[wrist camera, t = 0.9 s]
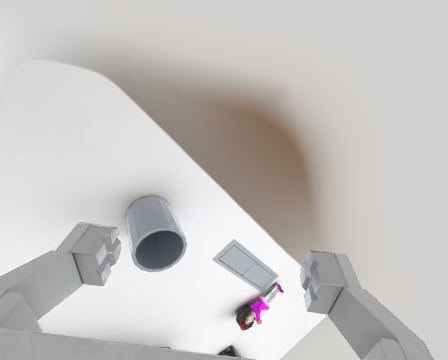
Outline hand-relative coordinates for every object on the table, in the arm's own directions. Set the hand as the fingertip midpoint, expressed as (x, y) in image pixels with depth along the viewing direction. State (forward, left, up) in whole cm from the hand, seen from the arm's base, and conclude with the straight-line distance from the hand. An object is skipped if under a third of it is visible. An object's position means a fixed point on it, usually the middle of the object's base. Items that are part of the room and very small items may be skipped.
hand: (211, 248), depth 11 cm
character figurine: (+41, -21, -25) cm, 52 cm away
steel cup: (+8, -11, -25) cm, 28 cm away
